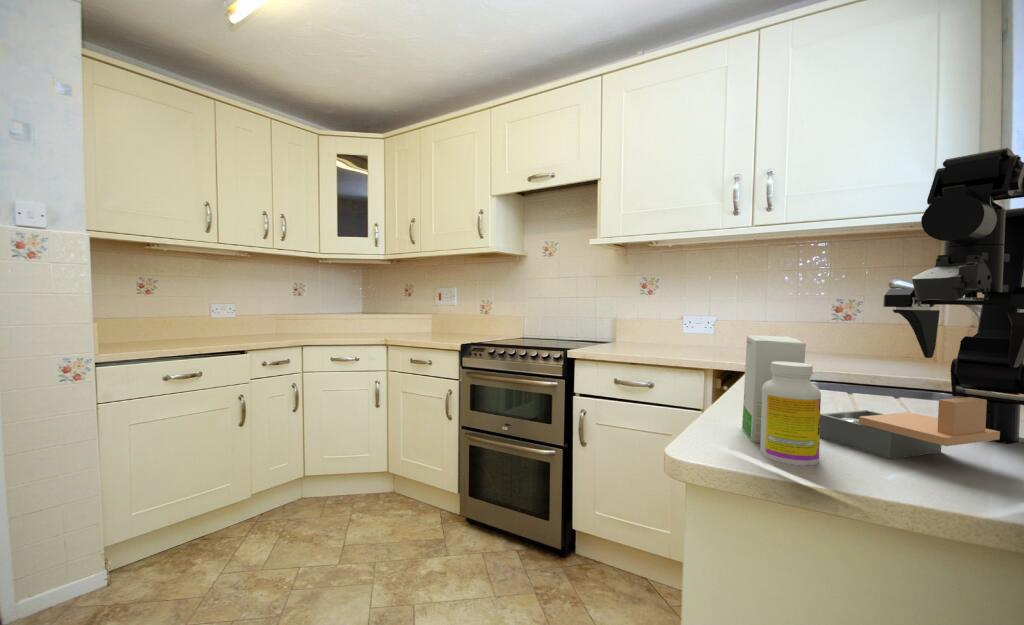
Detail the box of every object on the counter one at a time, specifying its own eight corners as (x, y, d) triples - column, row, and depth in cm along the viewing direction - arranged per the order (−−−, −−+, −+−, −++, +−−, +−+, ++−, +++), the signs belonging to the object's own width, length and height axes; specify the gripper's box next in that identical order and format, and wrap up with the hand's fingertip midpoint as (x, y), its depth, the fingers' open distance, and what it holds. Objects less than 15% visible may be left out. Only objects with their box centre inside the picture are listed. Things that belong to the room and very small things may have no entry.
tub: (865, 435, 72) (866, 409, 72) (940, 456, 62) (942, 427, 62) (817, 440, 69) (818, 414, 69) (889, 463, 59) (890, 432, 59)
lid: (908, 418, 66) (909, 384, 66) (999, 439, 57) (1001, 399, 56) (858, 423, 63) (860, 388, 63) (945, 446, 54) (947, 404, 53)
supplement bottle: (828, 472, 56) (832, 368, 56) (770, 467, 57) (773, 366, 57) (805, 454, 63) (808, 361, 62) (753, 450, 64) (755, 359, 64)
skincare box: (741, 430, 74) (744, 334, 73) (787, 434, 72) (790, 336, 71) (751, 446, 66) (754, 338, 65) (803, 451, 64) (807, 340, 63)
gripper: (859, 251, 68) (855, 355, 68) (1032, 235, 50) (1026, 375, 51) (910, 254, 71) (906, 353, 72) (1090, 240, 54) (1083, 372, 54)
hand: (968, 362), depth 62 cm, fingers open, 9 cm apart
